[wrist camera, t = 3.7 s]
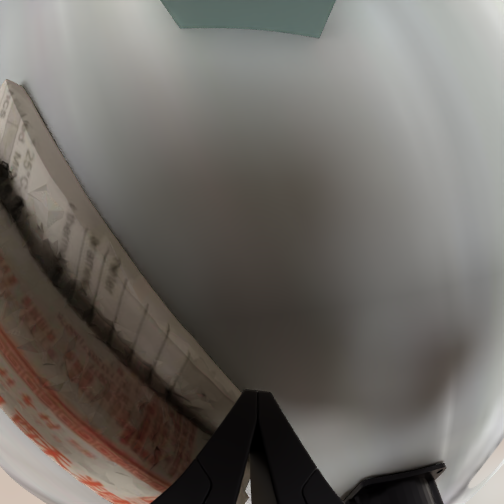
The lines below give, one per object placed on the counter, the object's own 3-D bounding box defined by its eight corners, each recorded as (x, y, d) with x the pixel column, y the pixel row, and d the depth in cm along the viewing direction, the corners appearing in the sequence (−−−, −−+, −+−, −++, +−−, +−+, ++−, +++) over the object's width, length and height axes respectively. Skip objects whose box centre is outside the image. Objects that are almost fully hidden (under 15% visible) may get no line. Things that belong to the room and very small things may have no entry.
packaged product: (301, 520, 6) (126, 528, 8) (294, 425, 11) (147, 467, 13) (-58, 64, 2) (-105, 254, 4) (32, 80, 7) (-46, 229, 9)
